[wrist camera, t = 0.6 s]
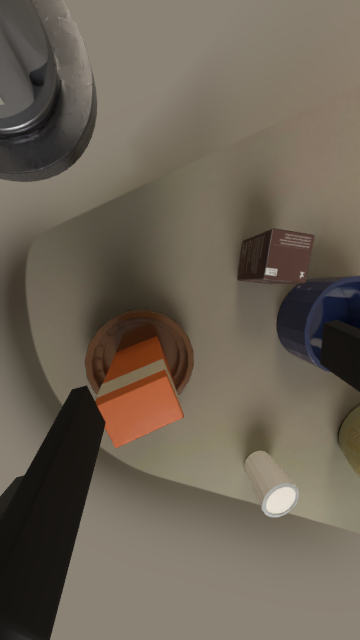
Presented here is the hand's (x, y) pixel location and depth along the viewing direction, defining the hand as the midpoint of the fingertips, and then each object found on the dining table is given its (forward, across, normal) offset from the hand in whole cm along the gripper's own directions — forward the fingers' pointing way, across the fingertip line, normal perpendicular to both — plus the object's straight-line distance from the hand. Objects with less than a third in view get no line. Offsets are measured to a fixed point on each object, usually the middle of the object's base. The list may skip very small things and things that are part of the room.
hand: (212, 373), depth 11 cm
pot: (+20, +23, -11) cm, 33 cm away
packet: (+17, -7, -8) cm, 20 cm away
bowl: (+18, -7, -8) cm, 21 cm away
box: (+21, +14, +1) cm, 26 cm away
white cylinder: (+15, +8, -36) cm, 40 cm away
